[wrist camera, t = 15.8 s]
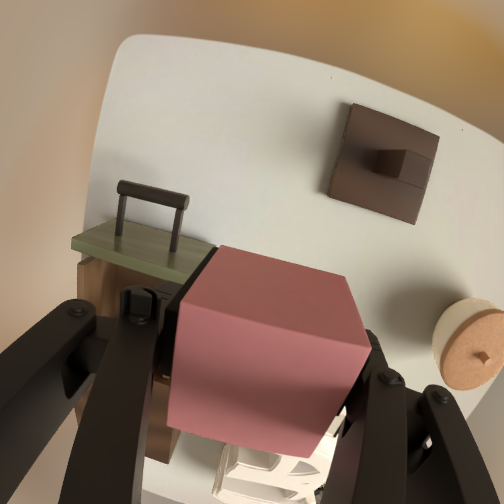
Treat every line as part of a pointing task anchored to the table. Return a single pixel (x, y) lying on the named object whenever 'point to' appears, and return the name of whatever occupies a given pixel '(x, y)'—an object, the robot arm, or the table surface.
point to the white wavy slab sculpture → (274, 473)
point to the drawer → (135, 252)
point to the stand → (383, 164)
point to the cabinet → (151, 422)
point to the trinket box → (469, 343)
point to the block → (264, 353)
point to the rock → (318, 495)
